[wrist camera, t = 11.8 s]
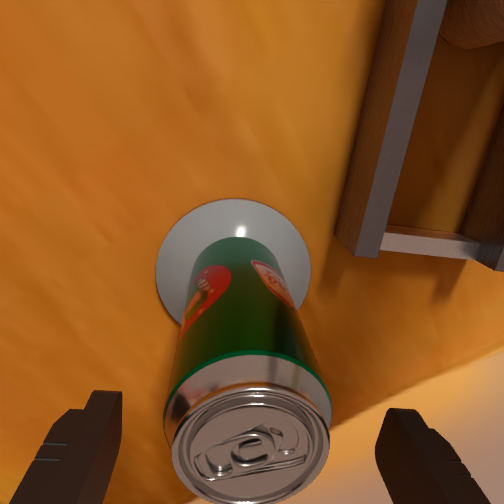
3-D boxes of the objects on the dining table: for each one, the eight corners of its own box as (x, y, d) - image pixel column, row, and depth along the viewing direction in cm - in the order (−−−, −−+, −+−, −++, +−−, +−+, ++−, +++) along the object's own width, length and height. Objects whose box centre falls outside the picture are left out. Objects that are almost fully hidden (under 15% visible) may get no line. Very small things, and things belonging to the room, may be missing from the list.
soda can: (289, 298, 22) (360, 488, 10) (210, 323, 22) (196, 538, 11) (264, 221, 20) (319, 351, 9) (178, 249, 20) (123, 413, 9)
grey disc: (161, 188, 20) (159, 190, 19) (321, 208, 21) (324, 210, 20) (153, 331, 22) (152, 337, 22) (294, 342, 24) (296, 347, 23)
